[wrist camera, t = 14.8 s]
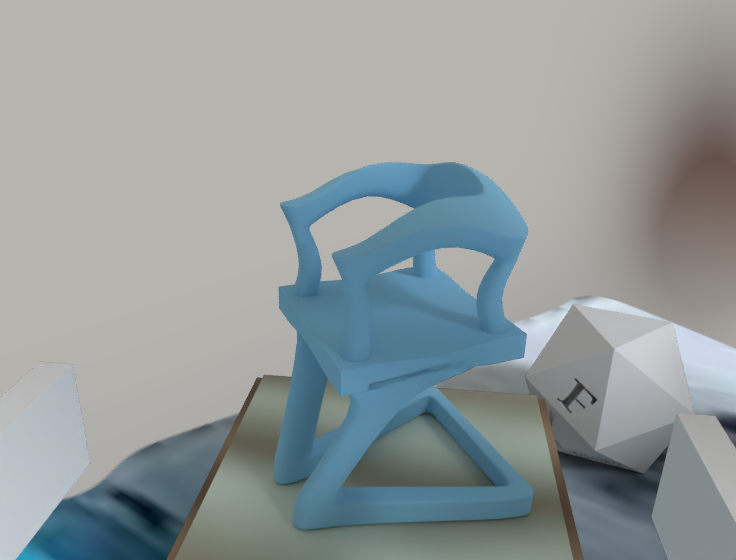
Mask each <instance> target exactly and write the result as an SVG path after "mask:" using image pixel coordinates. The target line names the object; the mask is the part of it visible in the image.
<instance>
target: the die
mask: <svg viewBox="0 0 736 560" xmlns="http://www.w3.org/2000/svg"><path fill="white" fill-rule="evenodd" d="M525 379H526V382H527V385H528V389H529V392H530V395H537V399H545V402H546V406H547V410H548V415H549V419H550V423H551V427H552V431H553V435H554V440H555V444H556V448H557V451H558V452H562V453H566V454H569V455H573V456H577V457H581V458H585V459H589V460H593V461H596V462H600V463H604V464H608V465H612V466H616V467H619V468H623V469H627V470H631V471H635V472H639V473H642V474H644V473H645V472H646V471H647V469H648V468H649V467H650V466H651V465H652V464H653V462H654V461H655V460H656V459H657V458H658V457H659V455H660V454H661V453H662V452H663V451H664V450H665V449H666V447H667V446H668V445H669V442H670V438H671V434H672V430H673V426H674V422H675V417H676V413H686V414H694V410H693V406H692V402H691V397H690V393H689V389H688V385H687V380H686V376H685V372H684V368H683V363H682V359H681V355H680V351H679V346H678V342H677V338H676V334H675V329H674V325H673V322H669V321H663V320H658V319H652V318H647V317H641V316H636V315H630V314H624V313H619V312H613V311H608V310H602V309H597V308H591V307H586V306H580V305H575V304H573V305H572V307H571V308H570V310H569V311H568V313H567V314H566V316H565V317H564V319H563V320H562V322H561V323H560V325H559V326H558V328H557V329H556V331H555V332H554V334H553V335H552V337H551V338H550V340H549V341H548V343H547V344H546V346H545V347H544V349H543V350H542V352H541V353H540V355H539V356H538V358H537V359H536V361H535V362H534V364H533V365H532V367H531V368H530V370H529V371H528V373H527V374H526V376H525Z"/></svg>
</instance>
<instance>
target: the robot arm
mask: <svg viewBox="0 0 736 560" xmlns="http://www.w3.org/2000/svg"><path fill="white" fill-rule="evenodd" d="M89 464H90V459H89V453H88V448H87V442H86V437H85V431H84V425H83V419H82V414H81V408H80V402H79V396H78V391H77V385H76V379H75V373H74V368H73V364H66V363H53V362H40V363H38V364H37V365H36V366H35V367H34V368H33V369H32V370H31V371H29V372H28V373H27V374H26V375H25V376H24V377H23V378H22V379H20V380H19V381H18V382H17V383H16V384H15V385H14V386H13V387H12V388H10V389H9V390H8V391H7V392H6V393H5V394H4V395H3V396H1V397H0V560H16V558H17V557H18V556H19V555H20V553H21V552H22V551H23V549H24V548H25V547H26V546H27V544H28V543H29V542H30V540H31V539H32V538H33V537H34V535H35V534H36V533H37V531H38V530H39V529H40V527H41V526H42V525H43V524H44V522H45V521H46V520H47V518H48V517H49V516H50V515H51V513H52V512H53V511H54V509H55V508H56V507H57V505H58V504H59V503H60V502H61V500H62V499H63V498H64V496H65V495H66V494H67V493H68V491H69V490H70V489H71V487H72V486H73V485H74V484H75V482H76V481H77V480H78V478H79V477H80V476H81V474H82V473H83V472H84V471H85V469H86V468H87V467H88V465H89ZM652 519H653V522H654V525H655V527H656V530H657V532H658V535H659V538H660V540H661V543H662V545H663V548H664V551H665V553H666V556H667V559H668V560H736V448H735V447H734V445H733V443H732V442H731V440H730V439H729V437H728V435H727V434H726V432H725V431H724V429H723V427H722V426H721V424H720V423H719V421H718V419H717V418H716V416H710V415H698V414H686V413H676V417H675V422H674V426H673V430H672V434H671V438H670V442H669V447H668V451H667V455H666V459H665V463H664V467H663V471H662V476H661V480H660V484H659V488H658V492H657V496H656V501H655V505H654V509H653V513H652Z"/></svg>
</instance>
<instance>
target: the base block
mask: <svg viewBox="0 0 736 560" xmlns="http://www.w3.org/2000/svg"><path fill="white" fill-rule="evenodd" d="M291 378H292V377H286V376H273V375H264V376H263V378H257V379H256V381H255V383H254V385H253V387H252V389H251V391H250V393H249V395H248V397H247V399H246V401H245V403H244V405H243V407H242V409H241V411H240V413H239V415H238V417H237V419H236V421H235V423H234V425H233V427H232V429H231V431H230V433H229V435H228V437H227V439H226V441H225V443H224V445H223V447H222V449H221V451H220V453H219V455H218V457H217V459H216V461H215V463H214V465H213V467H212V469H211V471H210V473H209V475H208V477H207V479H206V481H205V483H204V485H203V487H202V489H201V491H200V493H199V495H198V497H197V499H196V501H195V503H194V505H193V507H192V509H191V511H190V513H189V515H188V517H187V519H186V521H185V523H184V525H183V527H182V529H181V531H180V533H179V535H178V537H177V539H176V541H175V543H174V545H173V547H172V549H171V551H170V553H169V555H168V557H167V559H166V560H583V556H582V552H581V548H580V543H579V539H578V535H577V531H576V527H575V523H574V518H573V514H572V510H571V506H570V502H569V498H568V494H567V489H566V485H565V481H564V477H563V473H562V469H561V464H560V460H559V456H558V452H557V448H556V444H555V440H554V435H553V431H552V427H551V423H550V419H549V415H548V410H547V406H546V402H545V399H537V395H524V394H511V393H497V392H484V391H471V390H458V389H445V388H437V389H438V390H439V391H440V392H441V393H442V394H443V395H444V396H445V397H446V398H447V399H448V400H449V401H450V402H451V403H452V404H453V405H454V406H455V407H456V408H457V409H458V410H459V412H460V413H461V414H462V415H463V416H464V417H465V418H466V419H467V420H468V421H469V422H470V423H471V424H472V425H473V426H474V427H475V428H476V429H477V430H478V431H479V433H480V434H481V435H482V436H483V437H484V438H485V439H486V440H487V441H488V442H489V443H490V444H491V445H492V446H493V447H494V448H495V449H496V450H497V451H498V452H499V454H500V455H501V456H502V457H503V458H504V459H505V460H506V461H507V462H508V463H509V464H510V465H511V466H512V467H513V468H514V469H515V470H516V471H517V472H518V474H519V475H520V476H521V477H522V478H523V479H524V480H525V481H526V482H527V483H528V484H529V485H530V486H531V487H532V489H533V491H534V495H533V500H532V505H531V510H530V513H529V514H527V515H524V516H519V517H513V518H503V519H487V520H465V521H435V522H404V523H379V524H359V525H347V526H335V527H327V528H319V529H310V530H301V529H298V528H296V527H295V526H294V524H293V511H294V503H295V498H296V497H297V495H298V494H299V492H300V490H301V489H302V487H303V486H304V484H305V483H306V481H307V480H308V478H309V477H310V476H309V477H307V478H304V479H302V480H299V481H297V482H293V483H289V484H280V483H277V482H276V481H275V480H274V479H273V471H274V461H275V455H276V450H277V446H278V441H279V437H280V432H281V428H282V423H283V418H284V414H285V409H286V404H287V399H288V394H289V389H290V384H291ZM349 404H350V400H349V395H346V396H341V397H340V395H339V394H338V392H337V391H336V390H335V388H334V387H333V385H332V384H331V382H330V381H329V380H327V384H326V388H325V392H324V396H323V401H322V405H321V409H320V414H319V418H318V423H317V428H316V433H315V437H314V439H315V438H317V437H319V436H322V435H324V434H326V433H328V432H330V431H332V430H334V429H336V428H338V427H340V426H341V425H342V423H343V421H344V419H345V417H346V415H347V412H348V408H349ZM491 486H495V484H494V483H493V482H492V481H491V480H490V479H489V478H488V476H487V475H486V474H485V473H484V472H483V471H482V470H481V469H480V467H479V466H478V465H477V464H476V463H475V462H474V461H473V459H472V458H471V457H470V456H469V455H468V454H467V453H466V451H465V450H464V449H463V448H462V447H461V446H460V445H459V444H458V442H457V441H456V440H455V439H454V438H453V437H452V436H451V434H450V433H449V432H448V431H447V430H446V429H445V428H444V427H443V425H442V424H441V423H440V422H439V421H438V420H437V419H436V417H435V416H434V415H432V414H431V413H429V412H426V413H423V414H420V415H419V416H417V417H415V418H413V419H411V420H410V421H408V422H406V423H404V424H403V425H401V426H399V427H398V428H396V429H394V430H392V431H391V432H389V433H387V434H386V435H384V436H382V437H381V438H379V439H377V440H375V441H374V442H373V443H372V444H371V445H370V447H369V448H368V449H367V451H366V452H365V453H364V455H363V456H362V457H361V459H360V460H359V462H358V463H357V465H356V466H355V467H354V469H353V470H352V472H351V473H350V474H349V476H348V477H347V479H346V480H345V482H344V483H343V485H342V486H341V487H491Z"/></svg>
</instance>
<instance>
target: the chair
mask: <svg viewBox="0 0 736 560" xmlns="http://www.w3.org/2000/svg"><path fill="white" fill-rule="evenodd" d="M366 196H378V197H384V198H388V199H392V200H395V201H398V202H400V203H403V204H406V205H408V206H410V207H412V208H414V210H412V211H410V212H409V213H407V214H405V215H404V216H402V217H400V218H398V219H397V220H395V221H394V222H392V223H391V224H389V225H388V226H386V227H385V228H384V229H382V230H381V231H379V232H377V233H376V234H374V235H373V236H371V237H370V238H368V239H367V240H364V241H362V242H360V243H358V244H357V245H354V246H352V247H349V248H346V249H343V250H340V251H337V252H334V253H333V254H332V257H333V260H334V262H335V264H336V266H337V268H338V270H339V273H340V275H341V278H342V280H334V281H320V279H321V268H322V266H321V260H320V256H319V252H318V249H317V246H316V244H315V242H314V239H313V237H312V235H311V233H310V230H309V227H310V226H311V225H312V224H313V223H314V222H316V221H317V220H318V219H320V218H321V217H322V216H324V215H325V214H327V213H328V212H330V211H332V210H334V209H335V208H337V207H338V206H340V205H343V204H345V203H347V202H349V201H352V200H355V199H359V198H362V197H366ZM280 206H281V208H282V210H283V212H284V215H285V217H286V218H287V221H288V223H289V225H290V228H291V231H292V234H293V237H294V240H295V244H296V247H297V252H298V258H299V270H298V276H297V280H296V283H295V285H288V286H282V287H279V308H280V310H281V311H282V312H283V314H284V315H285V317H286V318H287V320H288V321H289V322H290V324H291V325H292V326H293V327H294V328H295V329H296V330H297V346H296V353H295V361H294V368H293V373H292V378H291V384H290V389H289V394H288V399H287V404H286V409H285V414H284V418H283V423H282V428H281V432H280V437H279V441H278V446H277V450H276V455H275V461H274V471H273V479H274V480H275V481H276V482H277V483H280V484H289V483H293V482H297V481H299V480H302V479H304V478H307V477H309V476H310V477H309V478H308V480H307V481H306V483H305V484H304V486H303V487H302V489H301V490H300V492H299V494H298V495H297V497H296V498H295V503H294V511H293V524H294V526H295V527H296V528H298V529H301V530H310V529H319V528H327V527H335V526H347V525H359V524H379V523H404V522H435V521H465V520H487V519H503V518H513V517H519V516H524V515H527V514H529V513H530V510H531V505H532V500H533V495H534V491H533V489H532V487H531V486H530V485H529V484H528V483H527V482H526V481H525V480H524V479H523V478H522V477H521V476H520V475H519V474H518V472H517V471H516V470H515V469H514V468H513V467H512V466H511V465H510V464H509V463H508V462H507V461H506V460H505V459H504V458H503V457H502V456H501V455H500V454H499V452H498V451H497V450H496V449H495V448H494V447H493V446H492V445H491V444H490V443H489V442H488V441H487V440H486V439H485V438H484V437H483V436H482V435H481V434H480V433H479V431H478V430H477V429H476V428H475V427H474V426H473V425H472V424H471V423H470V422H469V421H468V420H467V419H466V418H465V417H464V416H463V415H462V414H461V413H460V412H459V410H458V409H457V408H456V407H455V406H454V405H453V404H452V403H451V402H450V401H449V400H448V399H447V398H446V397H445V396H444V395H443V394H442V393H441V392H440V391H439V390H438V389H437V388H435V387H431V386H433V385H435V384H437V383H439V382H441V381H444V380H446V379H448V378H451V377H453V376H456V375H458V374H460V373H463V372H465V371H467V370H469V369H471V368H473V367H475V366H481V365H491V364H496V363H500V362H505V361H510V360H514V359H519V358H524V352H525V344H526V336H527V334H526V333H525V332H523V331H522V330H521V329H519V328H518V327H517V326H515V325H514V324H513V323H511V322H510V321H509V320H507V319H506V318H505V317H504V312H503V308H502V307H503V306H502V296H503V291H504V287H505V284H506V282H507V279H508V277H509V275H510V273H511V271H512V269H513V267H514V265H515V263H516V261H517V259H518V256H519V253H520V251H521V249H522V247H523V244H524V242H525V239H526V237H527V235H528V229H527V226H526V223H525V222H524V220H523V218H522V216H521V215H520V213H519V212H518V210H517V209H516V207H515V206H514V204H513V203H512V202H511V200H510V199H509V198H508V197H507V195H506V194H505V193H504V192H503V191H502V189H501V188H500V187H499V186H498V185H496V184H495V182H493V181H492V180H491V179H490V178H489V177H487V176H485V175H484V174H482V173H481V172H479V171H477V170H475V169H473V168H471V167H468V166H466V165H463V164H459V163H455V162H447V163H446V162H445V163H438V164H426V165H425V164H411V163H381V164H375V165H369V166H366V167H363V168H361V169H357V170H354V171H351V172H348V173H345V174H343V175H341V176H339V177H337V178H335V179H333V180H331V181H329V182H327V183H326V184H324V185H323V186H321V187H319V188H318V189H316V190H314V191H312V192H311V193H309V194H306V195H304V196H302V197H300V198H297V199H293V200H290V201H286V202H282V203H280ZM450 247H452V248H454V247H459V248H465V249H471V250H475V251H478V252H481V253H484V254H487V255H489V256H491V257H493V258H495V260H494V262H493V263H492V265H491V266H490V268H489V269H488V271H487V272H486V274H485V276H484V277H483V280H482V282H481V284H480V286H479V290H478V293H477V300H476V299H475V298H474V297H472V296H471V295H470V294H468V293H467V292H466V291H465V290H463V289H462V288H461V287H460V286H459V285H458V284H457V283H456V282H454V281H453V280H452V279H451V278H450V277H449V276H448V275H446V274H445V273H444V272H442V271H441V270H440V269H438V268H437V267H436V264H435V249H439V248H450ZM410 257H413V267H412V268H405V269H400V270H396V271H392V272H387V273H383V274H379V273H380V272H382V271H384V270H386V269H387V268H389V267H391V266H393V265H395V264H397V263H400V262H402V261H404V260H406V259H408V258H410ZM377 274H378V275H377ZM328 379H329V381H330V382H331V384H332V385H333V387H334V388H335V390H336V391H337V392H338V394H339V395H340V397H341V396H346V395H349V400H350V404H349V408H348V412H347V415H346V417H345V419H344V421H343V423H342V425H341V426H340V427H338V428H336V429H334V430H332V431H330V432H328V433H326V434H324V435H322V436H319V437H317V438H315V439H314V437H315V433H316V428H317V423H318V418H319V414H320V409H321V405H322V401H323V396H324V392H325V388H326V384H327V380H328ZM426 412H429V413H431V414H432V415H434V416H435V417H436V419H437V420H438V421H439V422H440V423H441V424H442V425H443V427H444V428H445V429H446V430H447V431H448V432H449V433H450V434H451V436H452V437H453V438H454V439H455V440H456V441H457V442H458V444H459V445H460V446H461V447H462V448H463V449H464V450H465V451H466V453H467V454H468V455H469V456H470V457H471V458H472V459H473V461H474V462H475V463H476V464H477V465H478V466H479V467H480V469H481V470H482V471H483V472H484V473H485V474H486V475H487V476H488V478H489V479H490V480H491V481H492V482H493V483H494V484H495V486H491V487H341V486H342V485H343V483H344V482H345V480H346V479H347V477H348V476H349V474H350V473H351V472H352V470H353V469H354V467H355V466H356V465H357V463H358V462H359V460H360V459H361V457H362V456H363V455H364V453H365V452H366V451H367V449H368V448H369V447H370V445H371V444H372V443H373V442H374V441H375V440H377V439H379V438H381V437H382V436H384V435H386V434H387V433H389V432H391V431H392V430H394V429H396V428H398V427H399V426H401V425H403V424H404V423H406V422H408V421H410V420H411V419H413V418H415V417H417V416H419V415H420V414H423V413H426Z"/></svg>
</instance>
